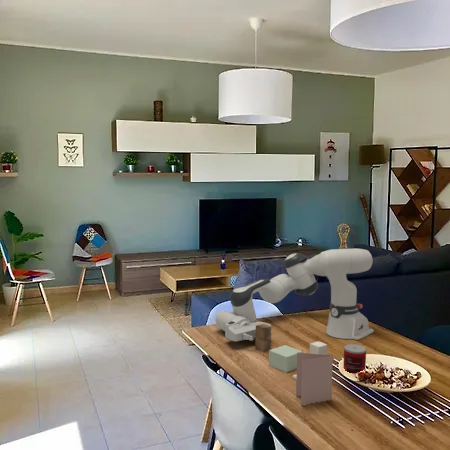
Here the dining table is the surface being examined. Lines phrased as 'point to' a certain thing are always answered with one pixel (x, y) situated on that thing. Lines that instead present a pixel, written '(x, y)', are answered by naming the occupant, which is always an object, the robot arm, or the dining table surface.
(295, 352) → the sage block
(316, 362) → the greeting card
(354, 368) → the canned food
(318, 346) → the offwhite post
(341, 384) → the dining table surface
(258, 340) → the walnut post
